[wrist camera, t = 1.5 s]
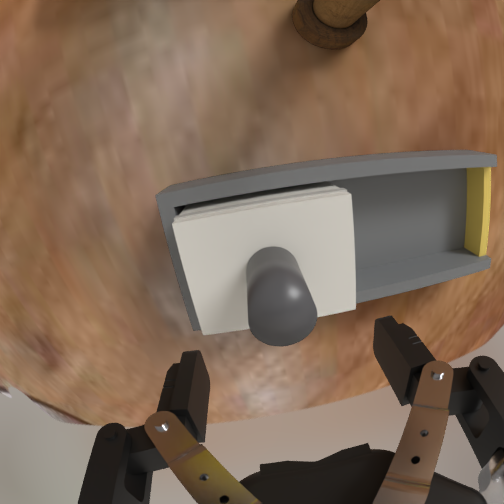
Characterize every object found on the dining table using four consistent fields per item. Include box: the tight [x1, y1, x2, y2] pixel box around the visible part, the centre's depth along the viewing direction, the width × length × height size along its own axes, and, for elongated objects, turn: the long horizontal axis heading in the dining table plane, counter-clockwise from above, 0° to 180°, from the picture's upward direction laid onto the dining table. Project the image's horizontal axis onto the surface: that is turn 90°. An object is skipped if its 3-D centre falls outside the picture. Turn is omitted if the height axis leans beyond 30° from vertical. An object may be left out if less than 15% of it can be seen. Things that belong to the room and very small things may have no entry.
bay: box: [155, 150, 497, 331], centre depth 26 cm, size 12×32×5 cm, turn 100°
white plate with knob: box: [172, 181, 356, 346], centre depth 21 cm, size 9×12×13 cm
